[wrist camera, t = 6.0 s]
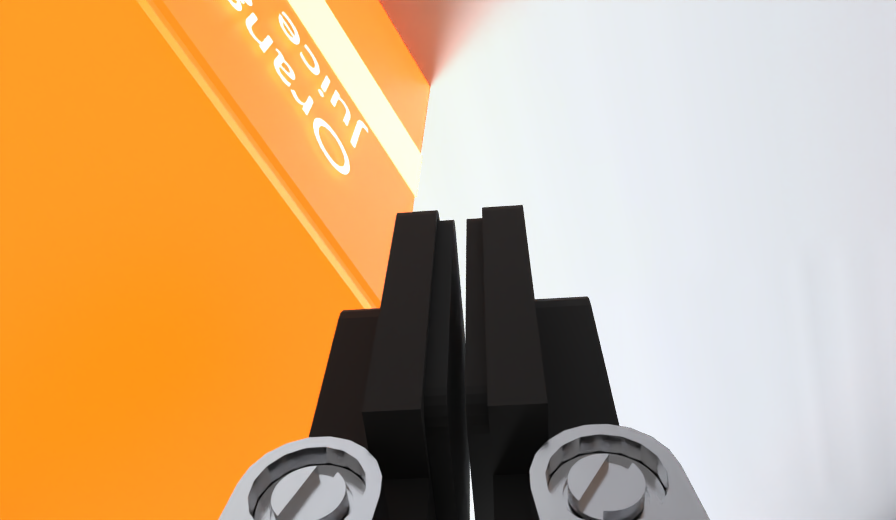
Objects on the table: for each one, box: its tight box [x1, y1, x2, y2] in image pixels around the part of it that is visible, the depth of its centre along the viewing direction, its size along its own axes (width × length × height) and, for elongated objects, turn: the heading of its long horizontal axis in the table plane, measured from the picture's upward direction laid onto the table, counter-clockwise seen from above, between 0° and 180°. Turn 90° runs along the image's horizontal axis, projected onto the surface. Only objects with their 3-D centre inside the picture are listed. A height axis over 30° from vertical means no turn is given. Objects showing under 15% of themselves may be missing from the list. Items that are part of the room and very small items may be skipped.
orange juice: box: [0, 0, 430, 520], centre depth 18 cm, size 8×9×20 cm
